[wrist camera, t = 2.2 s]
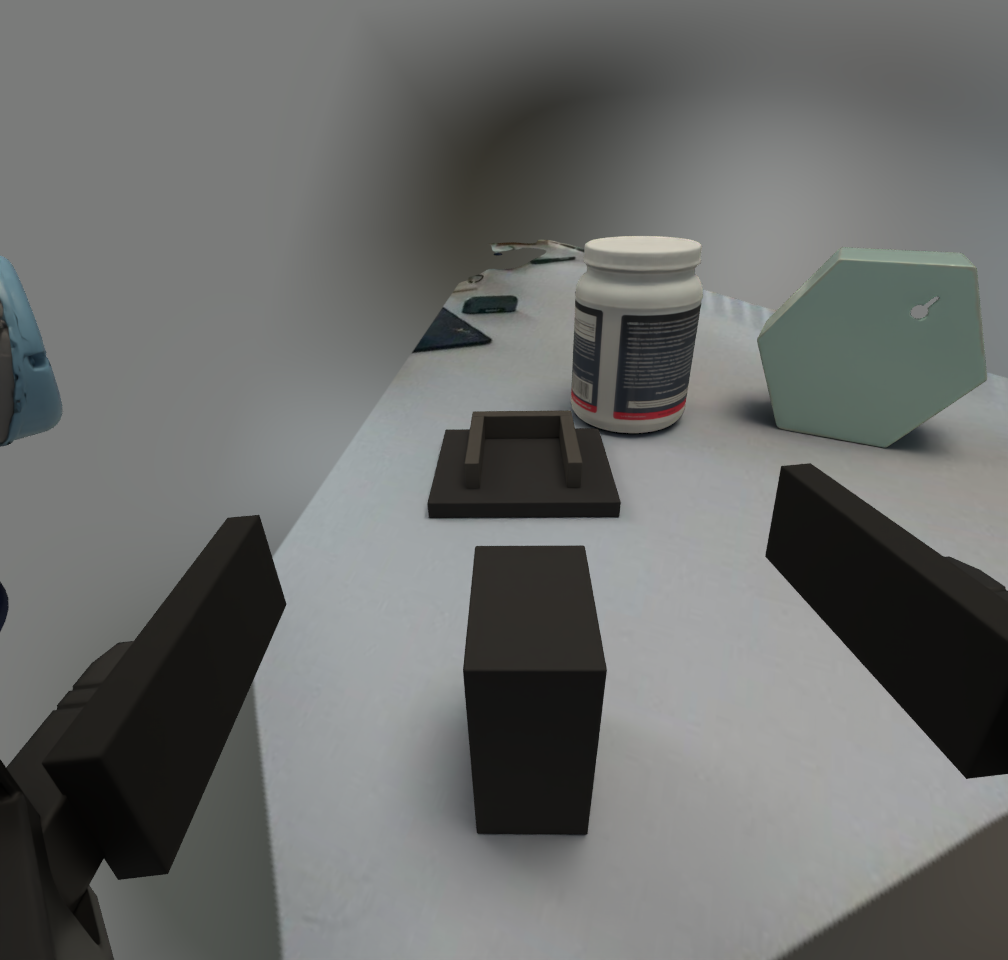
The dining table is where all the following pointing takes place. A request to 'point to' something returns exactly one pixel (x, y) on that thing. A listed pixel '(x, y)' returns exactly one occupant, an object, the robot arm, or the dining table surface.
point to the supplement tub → (635, 331)
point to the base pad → (523, 469)
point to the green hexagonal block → (874, 345)
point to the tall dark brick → (533, 689)
